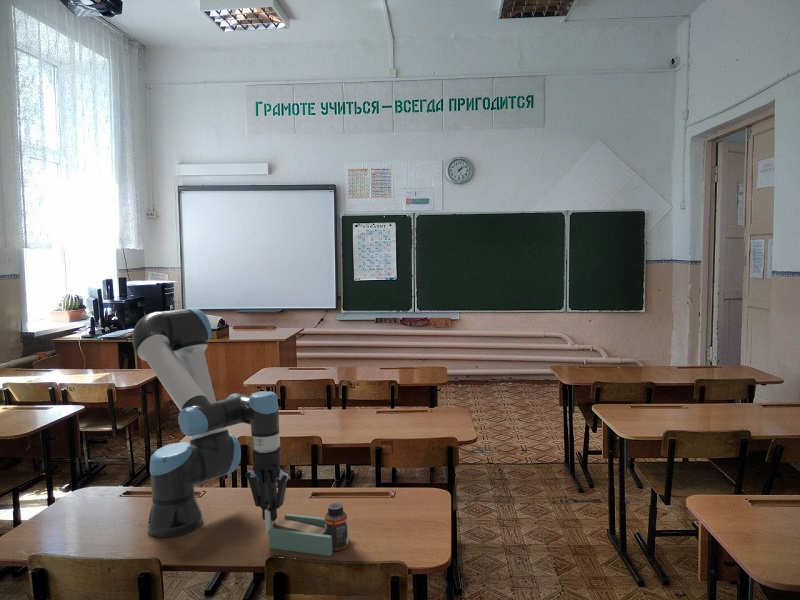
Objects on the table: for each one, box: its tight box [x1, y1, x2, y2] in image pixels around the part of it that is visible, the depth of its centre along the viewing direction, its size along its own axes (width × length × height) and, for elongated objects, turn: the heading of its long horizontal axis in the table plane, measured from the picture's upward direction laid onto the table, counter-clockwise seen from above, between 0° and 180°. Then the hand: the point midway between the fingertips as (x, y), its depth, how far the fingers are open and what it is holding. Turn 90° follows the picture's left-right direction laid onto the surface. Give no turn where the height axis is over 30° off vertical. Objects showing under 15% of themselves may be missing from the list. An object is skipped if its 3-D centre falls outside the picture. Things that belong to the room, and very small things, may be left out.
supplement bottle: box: [324, 502, 349, 552], centre depth 160 cm, size 6×6×11 cm
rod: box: [273, 517, 326, 535], centre depth 165 cm, size 16×4×4 cm, turn 62°
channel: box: [268, 513, 334, 557], centre depth 163 cm, size 18×10×5 cm, turn 73°
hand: (270, 530), depth 166 cm, fingers closed
